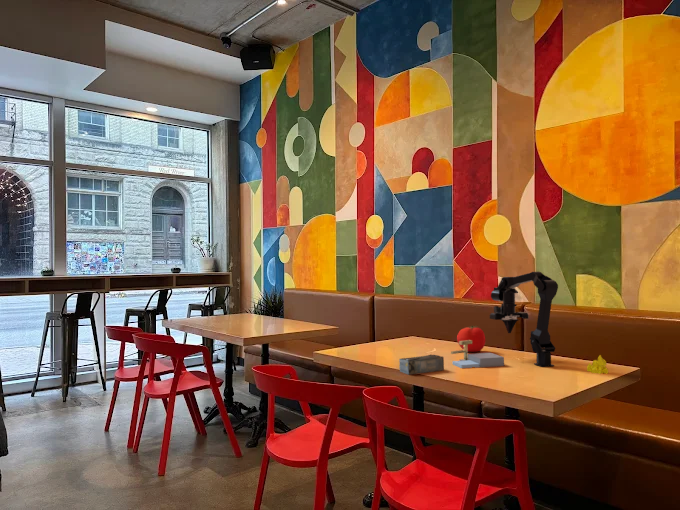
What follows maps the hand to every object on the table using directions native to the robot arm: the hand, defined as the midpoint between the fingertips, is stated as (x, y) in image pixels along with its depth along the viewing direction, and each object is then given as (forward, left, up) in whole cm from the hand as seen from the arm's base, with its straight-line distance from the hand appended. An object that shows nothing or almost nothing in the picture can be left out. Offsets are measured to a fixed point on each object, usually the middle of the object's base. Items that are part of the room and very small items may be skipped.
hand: (509, 333), depth 258 cm
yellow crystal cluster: (-40, -18, -12) cm, 46 cm away
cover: (-13, +30, -13) cm, 35 cm away
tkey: (-3, +28, -12) cm, 30 cm away
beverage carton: (-18, +54, -12) cm, 59 cm away
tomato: (+20, +11, -12) cm, 26 cm away
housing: (-9, +21, -12) cm, 25 cm away
